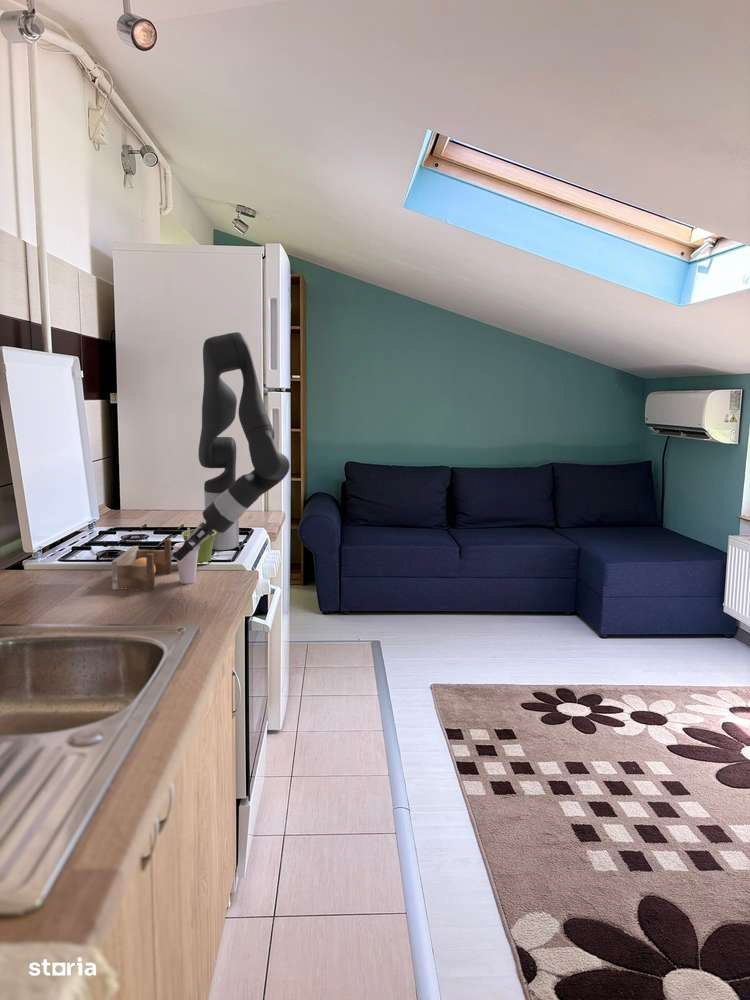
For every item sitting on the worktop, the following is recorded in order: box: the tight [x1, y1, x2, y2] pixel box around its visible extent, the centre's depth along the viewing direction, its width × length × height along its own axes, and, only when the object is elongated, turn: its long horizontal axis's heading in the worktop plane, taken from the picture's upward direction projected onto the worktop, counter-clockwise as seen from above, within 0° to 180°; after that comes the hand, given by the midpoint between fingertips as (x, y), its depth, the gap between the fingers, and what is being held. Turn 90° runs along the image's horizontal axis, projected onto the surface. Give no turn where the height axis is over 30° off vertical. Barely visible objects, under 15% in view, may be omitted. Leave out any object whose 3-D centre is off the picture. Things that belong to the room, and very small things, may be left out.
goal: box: [111, 538, 173, 591], centre depth 206 cm, size 10×17×9 cm, turn 179°
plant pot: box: [181, 528, 216, 563], centre depth 225 cm, size 9×9×9 cm
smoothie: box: [173, 527, 200, 585], centre depth 205 cm, size 6×6×14 cm
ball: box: [132, 558, 156, 575], centre depth 206 cm, size 6×6×6 cm
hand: (181, 553), depth 205 cm, fingers open, 8 cm apart
